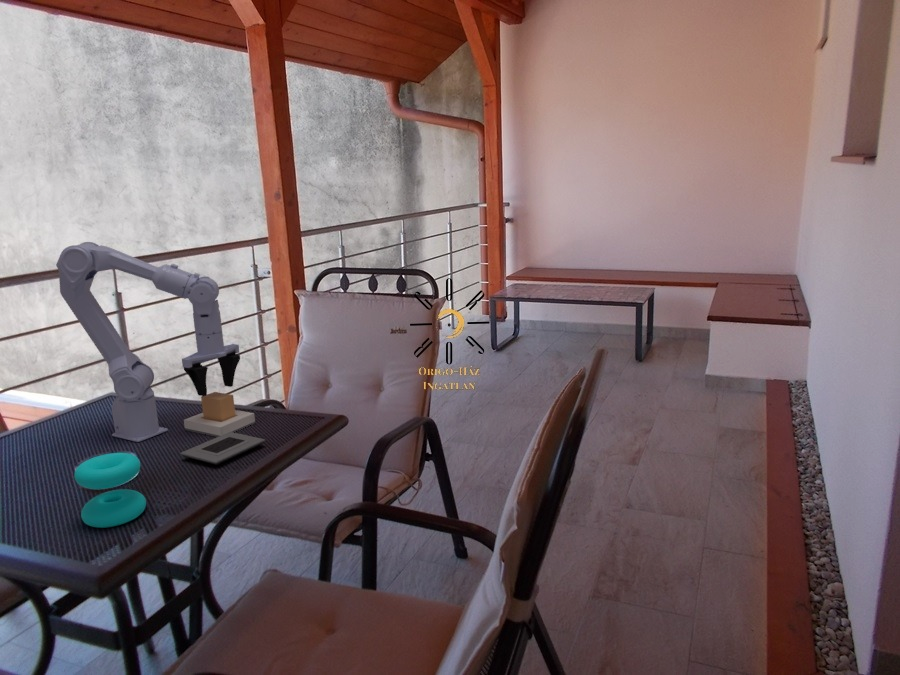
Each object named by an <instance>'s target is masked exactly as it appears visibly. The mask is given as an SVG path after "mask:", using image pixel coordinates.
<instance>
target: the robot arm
mask: <svg viewBox="0 0 900 675" xmlns="http://www.w3.org/2000/svg"><path fill="white" fill-rule="evenodd" d="M55 265H56V268H57V270H58V276H59V277H58V279H59V280H58V281H59V292H60V295H61V297H62V298H63V300H64V301H65V303H66V304H67V306H68V307H69V309H70V310H71V312H72V313H73V315H74V316H75V318H76V319H77V321H78V322H79V323H80V325H81V326H82V328H83V329H84V331H85V333H86V334H87V335H88V337H89V339H90V340H91V342H92V344H94V346H95V347H96V349H97V350H98V351H99V353H100V355H101V356H102V358H103V359H104V361H105V362H106V364H107V366H108V375H109V378H111V381H112V383H113V390H114V392H115V394H116V397H115V399H114V400H113V402H112V406H111V413H112V420H113V425H114V426H113V427H114V431H115V432H114V433H111V436H112V437H115V438H118V439H123V440H128V441H132V442H134V443H135V442H136V443H140V442H143V441H144V440H147V439H150V438H152V437H155V436H157V435H160V434H163V433H165V432H168V431H169V429H168V428H167V427H162V426H160V425H159V418H158V411H157V403H156V398H155V397H156V396H155V392H154V390H153V389H152V387H151V386H152V384H153V383H154V380H155V373H154V370H153V369H152V367H151V366H149V365H148V364H146V363H144V362H143V361H142V359H140V357H139V356H138V355H137V354H135V353H134V352H132V351H131V350H130V349H129V347H128V346H127V345H126V343H125V342H124V340H123V338H122V337H121V335H120V334H119V332H118V331H117V329H116V328H115V327H114V325H113V324H112V323H113V322H111V320H110V319H109V318H108V315H107V313H106V312H105V310H103V308H102V306H101V305H100V304H99V302H98V301H97V299H96V298H95V296H94V294H93V293H92V291H91V287H92V285H93V281H94V279H95V276H96V275H97V274H98V272H99V271H108V270H117V271H119V272H123V273H126V274H129V275H133V276H136V277H138V278H142V279H145V280H148V281H150V282H152V283H153V285H154V286H155V288H156V289H157V290H159V291H162V292H165V293H168V294H169V295H170V294H171V295H173V296H176V297H179V298H181V299H184V300H186V299H188V300H189V302H190V303H191V304H192V311H193V312H192V316H193V324H194V326H193V327H194V333H195V334H194V335H195V342H196V350H197V352H195V353H192V354H190V355H188V356H186V357H183V358H181V364H182V365H181V366H182V368H183V371H184V372H185V373H186V374H187V375H188V377H189V378H190V380H191V382H192V384H193V386H194V387H195V389H196V390H195V391H196V393H197V396H201V397H202V396H206V395H207V393H208V388H207V371H208V367H207V366H203V364H204V363H207V362H210V361H213V360H216V359H217V361H218V363H219V366H220V368H221V369H220V370H221V374H222V380H223V381H222V382H223V384H224V385H223V386H225V387H228V388H229V387H230V388H231V387H232V388H233V386H234V381H235V380H234V379H235V374H236V370H237V367H238V365H239V363H240V360H241V355H240V354H239V353H240V346H239V344H237V343H236V344H235V343H231V344H227V345H225V343H224V334H223V326H222V318H221V310H220V305H219V300H218V299H217V298H218V297H219V294H220V286H219V285H218V283H217V281H215V280H214V279H212V278H211V277H209V276H201V277H200V275H201V274H199V273H197V272H195V273H194V274H193V273H192V272H191V273H190V272H189V271H186V270H183V269H180V268H179V265H178V264H175V263H172V264H171V265H169V264H163V265H161V266H156V265H153V264H151V263H149V262H147V261H143V260H142V259H139V258H137V257H134V256H132V255H129V254H128V253H127V254H126V253H124V252H121V251H120V250H117V249H115V248H112V247H109V246H107V245H103V244H102V245H99V244H97V243H95V242H92V241H85V242H82V243H80V244H76V245H74V244H73V245H69V246H67V247H65V248H64V249H62V251H61V252H60V255H59V257H58V260H57V262H56V264H55Z"/></svg>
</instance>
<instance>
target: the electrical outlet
mask: <svg viewBox="0 0 900 675" xmlns="http://www.w3.org/2000/svg"><path fill="white" fill-rule="evenodd" d="M265 442H266V439H264V438H260V437H255V436H251V435H247V434H243V433H238V432H235V433H234V432H229V433H226V434H224V435H222V436H219V437H214V438H212V439H209V440H207V441H206V442H203V443H201V444H198V445H196V446H194V447H191V448H189V449H186V450H184V451H181V452H180V454H179V455H181V456H182V457H186V458H190V459H193V460H197V461H201V462H204V463H208V464H212V465H216V466H218V465H220V464H223V463H224V462H226V461H228V460H230V459H233V458H234V457H237V456H240V455H241V454H243V453H245V452H247V451H249V450H252V449H255V448H257V447H258V446H260V445H262V444H264V443H265Z"/></svg>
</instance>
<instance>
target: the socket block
mask: <svg viewBox="0 0 900 675" xmlns="http://www.w3.org/2000/svg"><path fill="white" fill-rule="evenodd" d="M235 415H236V416H235V417H233V418H230V419H228V420H225V421H223V422H218V421H213V420H208V419H204V416H203V412H200V413H198V414H196V415H193V416H190V417H187V418H185V419H183V426H184V431H188V432H192V433H195V434H200V435H201V434H202V435H205V434H206V436H210V437H214V438H217V437H219V436H222V435H224V434H226V433H229V432H235V433H237V432H239V431H241V429H242V430H244V429H246V428H248V426H249V427H251V426H253V425H255V424H256V419H255V418H256V415H255V413H254V412H249V411H242V410H240V409H239V410H238V409H235ZM250 425H251V426H250ZM245 427H246V428H245ZM243 428H244V429H243ZM238 430H239V431H238ZM236 431H237V432H236Z"/></svg>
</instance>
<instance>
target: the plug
mask: <svg viewBox="0 0 900 675" xmlns="http://www.w3.org/2000/svg"><path fill="white" fill-rule="evenodd" d="M200 399H201V408H202V413H203V416H204V419H208V420H213V421H218V422H223V421H225V420H228V419H230V418H233V417H235V416H236V415H235V410H236V408H235V400H234V394H230V393H223V392H219V391H213V392H211V393H208V394H207V395H206V396H201V397H200Z"/></svg>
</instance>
